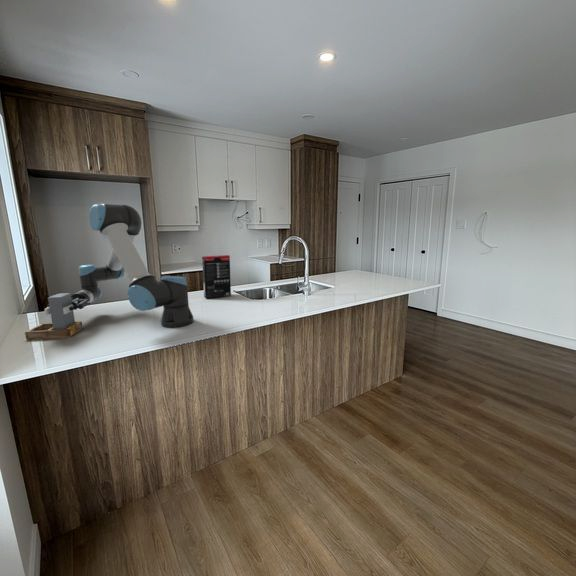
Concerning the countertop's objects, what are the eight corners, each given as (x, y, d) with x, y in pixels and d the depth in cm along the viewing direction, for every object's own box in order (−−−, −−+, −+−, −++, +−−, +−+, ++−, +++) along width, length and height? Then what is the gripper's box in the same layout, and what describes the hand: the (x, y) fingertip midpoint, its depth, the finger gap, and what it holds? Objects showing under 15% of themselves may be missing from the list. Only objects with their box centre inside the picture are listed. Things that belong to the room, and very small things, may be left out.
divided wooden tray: (43, 330, 147) (41, 321, 146) (84, 328, 149) (82, 319, 148) (26, 339, 135) (24, 330, 134) (70, 337, 137) (69, 327, 137)
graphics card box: (228, 294, 216) (226, 254, 210) (232, 296, 210) (230, 255, 204) (203, 297, 208) (200, 256, 202) (206, 299, 202) (203, 257, 196)
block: (64, 329, 146) (58, 293, 143) (76, 328, 147) (70, 293, 143) (54, 335, 138) (47, 297, 135) (66, 334, 139) (60, 297, 135)
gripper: (103, 305, 160) (80, 318, 137) (61, 307, 157) (31, 321, 135) (101, 290, 158) (78, 302, 136) (59, 292, 156) (28, 304, 133)
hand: (55, 311), depth 135 cm, fingers open, 7 cm apart
